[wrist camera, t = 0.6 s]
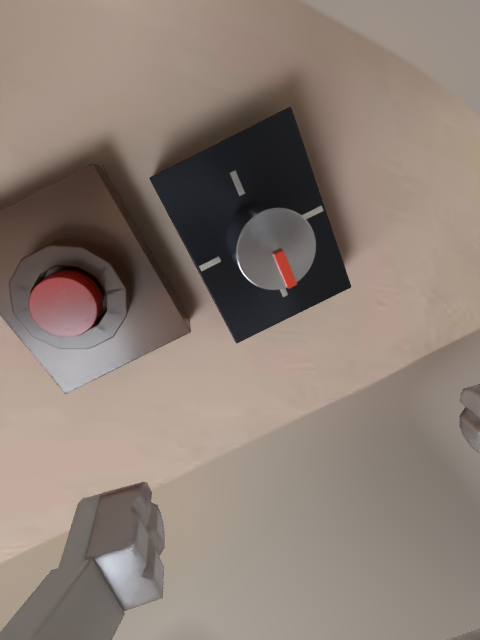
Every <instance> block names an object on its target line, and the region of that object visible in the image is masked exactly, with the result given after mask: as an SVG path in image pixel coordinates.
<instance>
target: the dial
mask: <svg viewBox="0 0 480 640" xmlns="http://www.w3.org/2000/svg"><path fill="white" fill-rule="evenodd" d="M227 247H228V250H229V253H230V255H231V257H232V258H233V260H234V262H235V263H236V265H237V266H238V268H239V269H240V271H241V272H242V274H243V275H244V276H245V278H246V279H247V280H248V281H250V282H251V283H252V284H254V285H256V286H257V287H260V288H263V289H268V290H278V289H283V288H288V289H289V288H291V287H293V286H295V285H297V282H298V281H299V280H300V279H302V278H303V277H304V276H305V274H306V273H307V272H308V270H309V269H310V267H311V265H312V263H313V260H314V257H315V253H316V239H315V235H314V232H313V229H312V227H311V225H310V224H309V222H308V221H307V220H306V219H305V218H304V217H303V216H302V215H300V214H299V213H297V212H295V211H293V210H291V209H288V208H284V207H281V206H278V205H275V204H272V203H268V202H257V203H253V204H250V205H247V206H246V207H244V208H242V209H241V210H240V211H239V212H238V213H237V214H236V215H235V216H234V217H233V219H232V221H231V222H230V225H229V227H228V231H227Z"/></svg>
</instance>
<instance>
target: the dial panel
mask: <svg viewBox="0 0 480 640" xmlns="http://www.w3.org/2000/svg"><path fill="white" fill-rule="evenodd" d="M150 180H151V182H152V184H153V186H154V188H155V190H156V192H157V194H158V196H159V198H160V199H161V201H162V203H163V205H164V207H165V209H166V211H167V213H168V215H169V217H170V218H171V220H172V222H173V224H174V226H175V228H176V230H177V232H178V234H179V236H180V237H181V239H182V241H183V243H184V245H185V247H186V249H187V251H188V253H189V255H190V256H191V258H192V260H193V262H194V264H195V266H196V268H197V270H198V272H199V274H200V275H201V277H202V279H203V281H204V283H205V285H206V287H207V289H208V291H209V293H210V294H211V296H212V298H213V300H214V302H215V304H216V306H217V308H218V310H219V312H220V313H221V315H222V317H223V319H224V321H225V323H226V325H227V327H228V329H229V331H230V332H231V334H232V336H233V338H234V340H235V342H236V343H239V342H241V341H243V340H245V339H247V338H249V337H251V336H253V335H255V334H257V333H259V332H261V331H263V330H265V329H267V328H269V327H271V326H273V325H275V324H277V323H279V322H281V321H283V320H285V319H287V318H289V317H292V316H294V315H296V314H298V313H300V312H302V311H304V310H306V309H308V308H310V307H312V306H314V305H316V304H318V303H320V302H322V301H324V300H326V299H328V298H330V297H332V296H334V295H336V294H338V293H340V292H342V291H345V290H347V289H349V288H351V285H350V282H349V279H348V276H347V273H346V270H345V267H344V264H343V261H342V258H341V255H340V252H339V249H338V246H337V243H336V240H335V237H334V234H333V231H332V228H331V225H330V222H329V219H328V216H327V213H326V210H325V207H324V204H323V201H322V198H321V195H320V192H319V189H318V186H317V183H316V180H315V177H314V174H313V171H312V168H311V165H310V162H309V159H308V156H307V153H306V150H305V147H304V144H303V141H302V139H301V136H300V133H299V130H298V127H297V124H296V121H295V118H294V115H293V112H292V109H291V107H289V108H287V109H285V110H283V111H281V112H279V113H277V114H275V115H273V116H271V117H269V118H267V119H265V120H263V121H261V122H259V123H257V124H255V125H253V126H251V127H249V128H247V129H245V130H243V131H241V132H239V133H237V134H235V135H233V136H231V137H229V138H227V139H225V140H223V141H221V142H219V143H217V144H215V145H213V146H211V147H209V148H207V149H205V150H203V151H201V152H199V153H197V154H195V155H194V156H192V157H190V158H188V159H186V160H184V161H182V162H180V163H178V164H176V165H174V166H172V167H170V168H168V169H166V170H164V171H162V172H160V173H158V174H156V175H154V176H152V177H150ZM257 202H268V203H272V204H275V205H278V206H281V207H284V208H288V209H291V210H293V211H295V212H297V213H299V214H300V215H302V216H303V217H304V218H305V219H306V220H307V221H308V222H309V224H310V225H311V227H312V229H313V232H314V235H315V239H316V253H315V257H314V260H313V263H312V265H311V267H310V269H309V270H308V272H307V273H306V274H305V276H304V277H303V278H302V279H300V280H299V281H298V282H297V285H295V286H293V287H291V288H289V289H288V288H283V289H278V290H268V289H263V288H260V287H257V286H256V285H254V284H252V283H251V282H250V281H248V280H247V279H246V278H245V276H244V275H243V274H242V272H241V271H240V269H239V268H238V266H237V265H236V263H235V262H234V260H233V258H232V257H231V255H230V253H229V250H228V247H227V231H228V227H229V225H230V222H231V221H232V219H233V217H234V216H235V215H236V214H237V213H238V212H239V211H240V210H241V209H242V208H244V207H246V206H247V205H250V204H253V203H257Z"/></svg>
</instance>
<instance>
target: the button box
mask: <svg viewBox="0 0 480 640" xmlns="http://www.w3.org/2000/svg"><path fill="white" fill-rule="evenodd" d="M68 269H69V270H76V271H79V272H82V273H84V274H86V275H88V276H89V277H91V278H92V279H93V280H94V281H95V282H96V283H97V285H98V286H99V288H100V290H101V292H102V296H103V305H102V309H101V311H100V313H99V315H98V317H97V319H96V321H95V323H94V324H93V326H92V327H91V328H90V329H89V330H88V331H86V332H85V333H83V334H81V335H78V336H74V337H60V336H56V335H53V334H50V333H48V332H46V331H45V330H43V329H42V328H41V327H40V326H38V325H37V323H36V322H35V321H34V319H33V318H32V316H31V313H30V310H29V297H30V294H31V292H32V290H33V289H34V288H35V286H36V285H38V284H39V283H40V282H41V281H42V280H44V279H45V278H46V277H47V276H49V275H50V274H52V273H54V272H56V271H59V270H68ZM0 315H1V317H2V318H3V319H4V320H5V321H6V323H7V324H8V325H9V326H10V327H11V329H12V330H13V331H14V332H15V333H16V335H17V336H18V337H19V338H20V340H21V341H22V342H23V343H24V344H25V346H26V347H27V348H28V349H29V350H30V352H31V353H32V354H33V355H34V356H35V358H36V359H37V360H38V361H39V362H40V364H41V365H42V366H43V367H44V368H45V370H46V371H47V372H48V373H49V375H50V376H51V377H52V378H53V379H54V381H55V382H56V383H57V384H58V385H59V387H60V388H61V389H62V390H63V391H64V393H65V394H66V393H68V392H70V391H72V390H74V389H76V388H78V387H80V386H82V385H84V384H86V383H88V382H90V381H92V380H94V379H96V378H99V377H101V376H103V375H105V374H107V373H109V372H111V371H113V370H115V369H117V368H119V367H121V366H123V365H125V364H127V363H129V362H131V361H133V360H135V359H137V358H139V357H141V356H143V355H145V354H147V353H149V352H151V351H153V350H155V349H157V348H159V347H161V346H163V345H165V344H167V343H170V342H172V341H174V340H176V339H178V338H180V337H182V336H184V335H186V334H188V333H190V332H191V329H190V320H189V318H188V316H187V315H186V313H185V311H184V309H183V308H182V306H181V304H180V302H179V301H178V299H177V297H176V295H175V294H174V292H173V290H172V288H171V287H170V285H169V283H168V281H167V280H166V278H165V276H164V274H163V273H162V271H161V269H160V267H159V266H158V264H157V262H156V261H155V259H154V257H153V255H152V254H151V252H150V250H149V248H148V247H147V245H146V243H145V241H144V240H143V238H142V236H141V234H140V233H139V231H138V229H137V227H136V226H135V224H134V222H133V220H132V219H131V217H130V215H129V213H128V212H127V210H126V208H125V206H124V205H123V203H122V201H121V199H120V198H119V196H118V194H117V193H116V191H115V189H114V187H113V186H112V184H111V182H110V180H109V179H108V177H107V175H106V173H105V172H104V170H103V168H102V166H101V165H100V164H91V165H89V166H87V167H85V168H83V169H81V170H79V171H77V172H75V173H73V174H71V175H69V176H67V177H65V178H63V179H61V180H59V181H57V182H55V183H53V184H51V185H49V186H47V187H45V188H43V189H41V190H39V191H37V192H35V193H34V194H32V195H30V196H28V197H26V198H24V199H22V200H20V201H18V202H16V203H14V204H12V205H10V206H8V207H6V208H4V209H2V210H0Z"/></svg>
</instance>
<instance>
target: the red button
mask: <svg viewBox="0 0 480 640" xmlns="http://www.w3.org/2000/svg"><path fill="white" fill-rule="evenodd" d="M102 305H103V296H102V292H101V290H100V288H99V286H98V285H97V283H96V282H95V281H94V280H93V279H92V278H91V277H89V276H88V275H86V274H84V273H82V272H79V271H76V270H69V269H68V270H59V271H56V272H54V273H52V274H50V275H49V276H47V277H46V278H45V279H44V280H42V281H41V282H40V283H39V284H38V285H36V286H35V288H34V289H33V290H32V292H31V294H30V297H29V310H30V313H31V316H32V318H33V319H34V321H35V322H36V323H37V325H38V326H40V327H41V328H42V329H43V330H45V331H46V332H48V333H50V334H53V335H56V336H60V337H74V336H78V335H81V334H83V333H85V332H86V331H88V330H89V329H90V328H91V327H92V326H93V324H94V323H95V321H96V319H97V317H98V315H99V313H100V311H101V309H102Z"/></svg>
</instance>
